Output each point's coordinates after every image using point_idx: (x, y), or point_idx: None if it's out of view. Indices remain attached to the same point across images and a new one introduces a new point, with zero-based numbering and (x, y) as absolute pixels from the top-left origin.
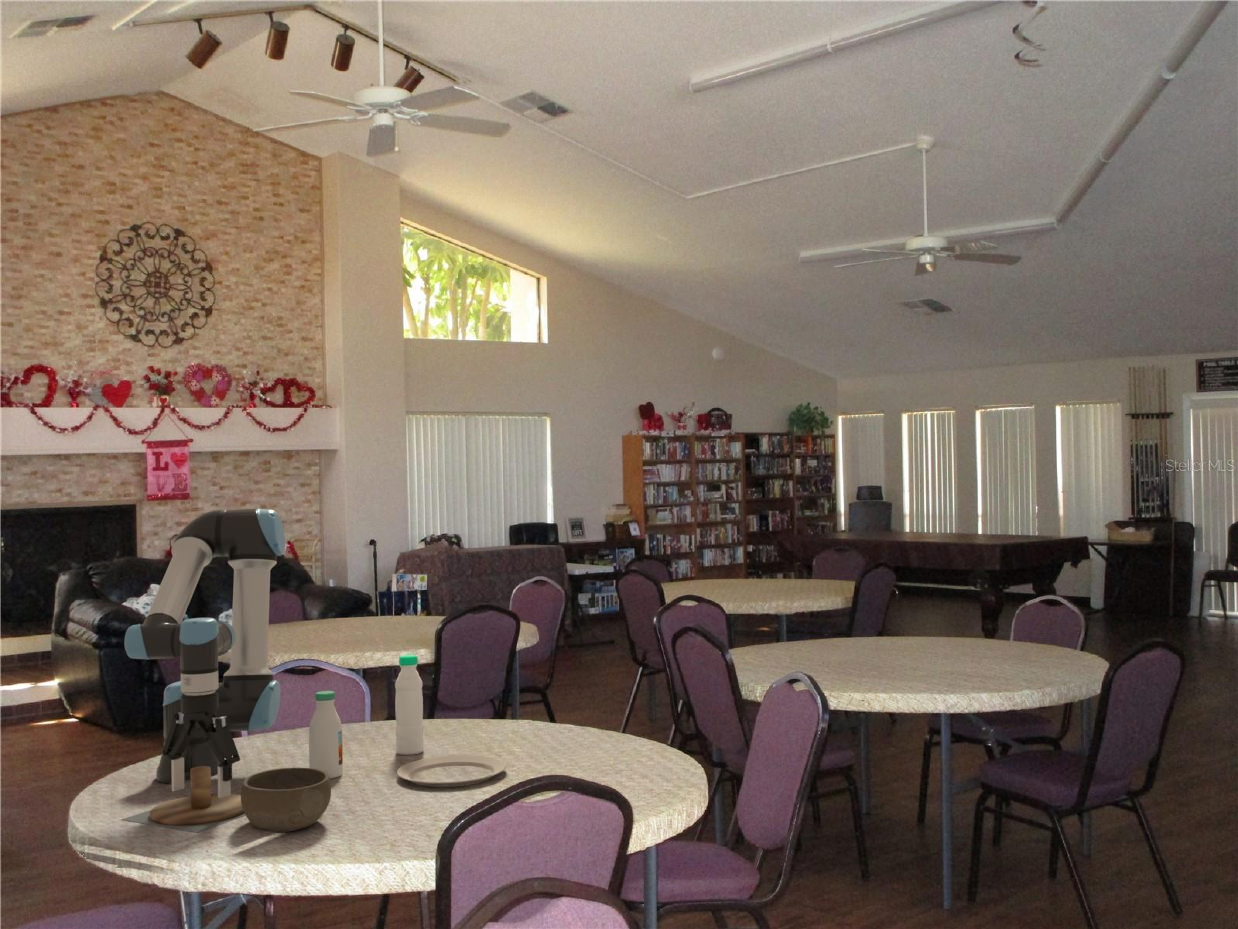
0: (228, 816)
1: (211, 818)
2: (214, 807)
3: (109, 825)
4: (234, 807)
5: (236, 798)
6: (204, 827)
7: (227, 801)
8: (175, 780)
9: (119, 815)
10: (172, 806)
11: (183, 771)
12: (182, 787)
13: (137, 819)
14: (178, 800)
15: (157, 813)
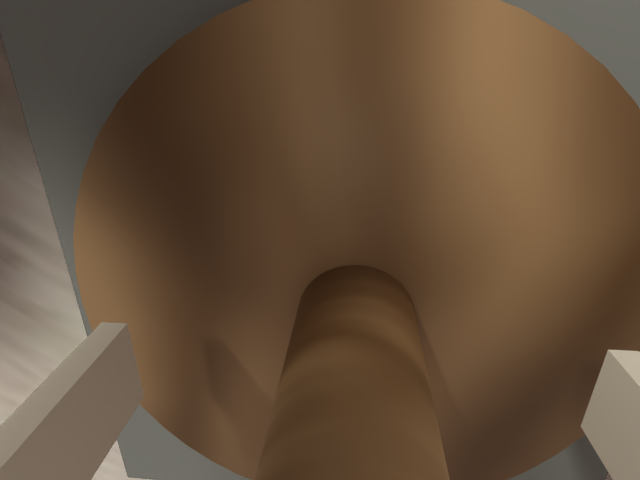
0: None
1: (576, 438)
2: (454, 307)
3: (109, 472)
4: (596, 269)
5: (457, 87)
6: (577, 470)
7: (441, 175)
8: (100, 451)
9: (2, 385)
10: (200, 360)
11: (38, 439)
12: (125, 344)
13: (186, 464)
14: (116, 270)
15: (241, 452)
